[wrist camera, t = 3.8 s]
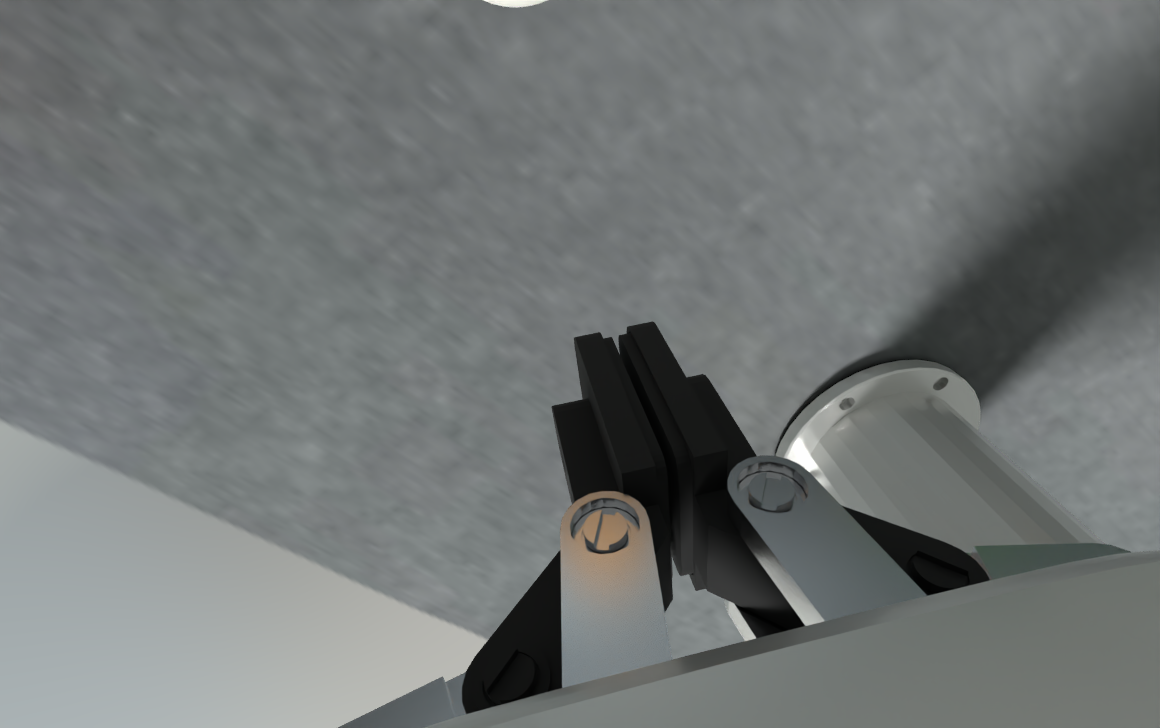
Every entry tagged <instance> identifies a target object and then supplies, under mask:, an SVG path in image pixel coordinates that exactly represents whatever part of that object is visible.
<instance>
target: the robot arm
mask: <svg viewBox="0 0 1160 728" xmlns="http://www.w3.org/2000/svg"><path fill="white" fill-rule="evenodd" d="M574 344H575V351H576V358H577V364H578V371H579V378H580V385H581V391H582V398H583V400H578V401H574V402H569V403H564V404H559V405H555V406H552V412H553V418H554V423H555V428H556V433H557V439H558V444H559V449H560V453H561V458H562V463H563V467H564V472H565V476H566V480H567V485H568V489H569V493H570V498H571V502H572V505H571V506H570V507H569V508H568V510H567V511H566V513H565V515H564V516H563V518H562V523H561V529H560V541H561V550H560V551H559V552H558V553H557V555H556V556H555V557H554V558H553V560H552V561H551V562H550V563H549V565H548V566H547V567H546V568H545V570H544V571H543V572H542V573H541V575H540V576H539V577H538V578H537V580H536V581H535V582H534V583H533V585H532V586H531V587H530V588H529V590H528V591H527V592H526V593H525V595H524V596H523V597H522V599H521V600H520V601H519V602H518V604H517V605H516V606H515V607H514V609H513V610H512V611H511V612H510V614H509V615H508V616H507V617H506V619H505V620H504V621H503V622H502V624H501V625H500V626H499V627H498V629H497V630H496V631H495V632H494V634H493V635H492V636H491V637H490V639H489V640H488V641H487V642H486V644H485V645H484V646H483V648H482V649H481V650H480V651H479V652H478V654H477V655H476V656H475V658H474V659H473V661H472V663H471V665H470V666H469V667H468V669H467V671H466V672H465V673H464V674H461V675H459V676H457V677H455V678H453V679H451V680H449V681H447V682H445V680H444V678H443V677H441V678H439V679H436V680H435V681H432V682H431V683H428V684H426V685H424V686H422V687H420V688H418V689H416V690H414V691H412V692H410V693H408V694H406V695H404V696H402V697H400V698H398V699H396V700H394V701H391V702H389V703H387V704H385V705H383V706H381V707H379V708H377V709H375V710H373V711H371V712H369V713H367V714H365V715H363V716H361V717H359V718H357V719H355V720H353V721H351V722H349V723H346V724H344V725H342V726H340V727H338V728H1160V551H1143V552H1130V551H1127V550H1124V549H1122V548H1119V547H1116V546H1113V545H1107V544H1105V543H1104V542H1103V541H1102V540H1101V539H1099V538H1098V537H1097V536H1096V535H1095V534H1094V533H1093V532H1092V531H1090V530H1089V529H1088V528H1087V527H1086V526H1085V525H1084V524H1083V523H1081V522H1080V521H1079V520H1078V519H1077V518H1076V517H1075V516H1074V515H1072V514H1071V513H1070V512H1069V511H1068V510H1067V509H1066V508H1065V507H1063V506H1062V505H1061V504H1060V503H1059V502H1058V501H1057V500H1056V499H1054V498H1053V497H1052V496H1051V495H1050V494H1049V493H1048V492H1047V491H1045V490H1044V489H1043V488H1042V487H1041V486H1040V485H1039V484H1038V483H1036V482H1035V481H1034V480H1033V479H1032V478H1031V477H1030V476H1029V475H1027V474H1026V473H1025V472H1024V471H1023V470H1022V469H1021V468H1020V467H1018V466H1017V465H1016V464H1015V463H1014V462H1013V461H1012V460H1010V459H1009V458H1008V457H1007V456H1006V455H1005V454H1004V453H1003V452H1001V451H1000V450H999V449H998V448H997V447H996V446H995V445H994V444H992V443H991V442H990V441H989V440H988V439H987V438H986V437H985V436H983V435H982V434H981V433H980V432H979V425H980V418H981V412H980V402H979V400H978V397H977V395H976V393H975V390H974V389H973V388H972V387H971V386H970V385H969V384H968V382H967V381H966V380H965V379H963V378H962V377H961V376H959V375H958V374H957V373H955V372H954V371H953V370H952V369H950V368H948V367H946V366H943V365H941V364H939V363H936V362H930V361H924V360H899V361H894V362H889V363H884V364H880V365H877V366H874V367H871V368H868V369H865V370H863V371H860V372H857V373H855V374H853V375H852V376H850V377H848V378H846V379H844V380H842V381H840V382H838V383H836V384H835V385H834V386H832V387H831V388H829V389H828V390H826V391H825V392H823V393H822V394H821V395H819V396H818V397H817V398H816V399H815V400H814V401H813V402H811V403H810V404H809V405H808V406H807V407H806V408H805V409H804V410H803V411H802V412H801V413H800V415H799V416H798V417H797V418H796V419H795V421H794V422H793V423H792V424H791V425H790V427H789V429H788V430H787V432H786V434H785V435H784V437H783V439H782V440H781V442H780V445H779V447H778V450H777V453H776V455H775V456H756V454H755V452H754V451H753V449H752V448H751V446H750V444H749V443H748V441H747V440H746V438H745V436H744V435H743V433H742V432H741V430H740V428H739V427H738V425H737V424H736V422H735V420H734V419H733V417H732V416H731V414H730V412H729V411H728V409H727V408H726V406H725V404H724V403H723V401H722V400H721V398H720V396H719V395H718V393H717V392H716V390H715V388H714V387H713V385H712V384H711V382H710V380H709V379H708V378H707V377H706V375H703V374H701V375H697V376H692V377H687V378H686V376H685V374H684V373H683V371H682V369H681V367H680V366H679V364H678V362H677V360H676V359H675V357H674V355H673V353H672V352H671V350H670V348H669V347H668V345H667V343H666V341H665V340H664V338H663V336H662V334H661V333H660V331H659V329H658V327H657V326H656V324H655V323H654V322H648V323H643V324H638V325H633V326H628V327H627V334H624V335H619V351H620V355H619V352H618V350H617V348H616V346H615V343H614V341H613V339H612V337H609V338H604V339H603V337H602V335H601V333H600V332H599V333H594V334H589V335H584V336H579V337H574ZM672 558H673V560H674V563H675V565H676V568H677V571H678V573H679V575H680V576H683V575H687V574H689V575H690V578H691V580H692V583H693V585H694V588H695V590H696V591H697V590H701V589H707V591H709V592H711V593H713V594H715V595H717V596H719V597H721V598H724V605H725V607H726V609H727V612H728V614H729V616H730V617H731V619H732V621H733V622H734V624H735V625H736V627H737V629H738V630H739V632H740V633H741V635H742V637H743V638H744V640H745V641H744V642H740V643H736V644H733V645H729V646H725V647H721V648H717V649H713V650H709V651H705V652H701V653H697V654H693V655H689V656H685V657H681V658H677V659H673V660H672V655H671V649H670V643H669V636H668V630H667V624H666V618H665V611H666V610H667V608H668V606H669V605H670V603H671V601H672V600H673V594H672V575H673V574H672Z"/></svg>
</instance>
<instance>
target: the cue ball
mask: <svg viewBox="0 0 1160 728" xmlns="http://www.w3.org/2000/svg"><path fill="white" fill-rule="evenodd" d="M484 1H486V2H489V3H492V4H495V5H500V6H504V7H527V6H531V5H535V4H539V3H542V2H544V1H547V0H484Z"/></svg>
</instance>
